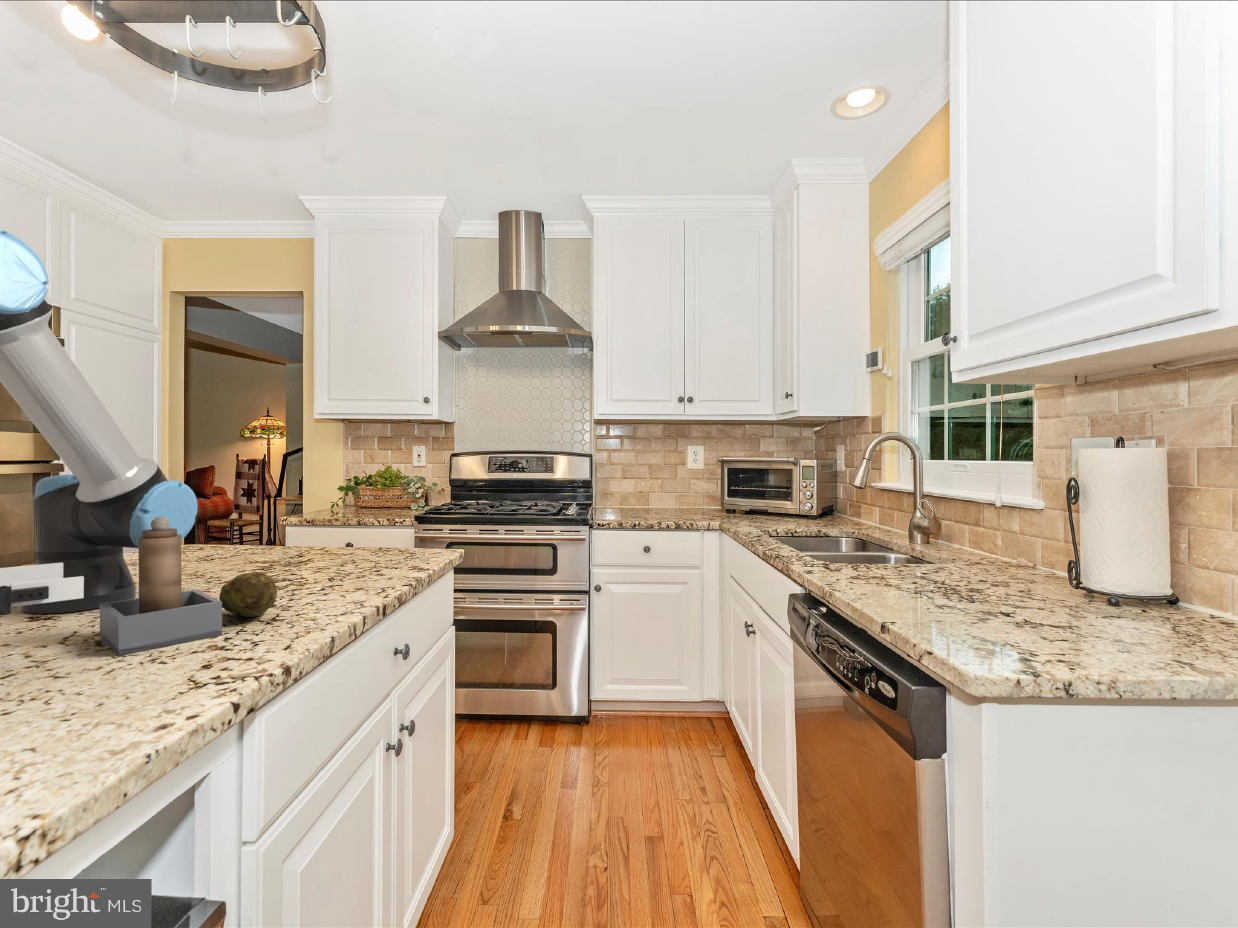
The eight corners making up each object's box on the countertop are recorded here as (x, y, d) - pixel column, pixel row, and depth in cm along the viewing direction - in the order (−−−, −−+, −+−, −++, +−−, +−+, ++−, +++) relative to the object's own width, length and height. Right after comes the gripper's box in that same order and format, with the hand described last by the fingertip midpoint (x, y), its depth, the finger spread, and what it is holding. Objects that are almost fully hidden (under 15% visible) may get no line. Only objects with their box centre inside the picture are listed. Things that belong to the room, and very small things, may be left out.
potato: (276, 606, 106) (276, 561, 105) (277, 624, 95) (277, 574, 94) (220, 612, 101) (219, 565, 101) (214, 632, 90) (214, 579, 90)
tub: (99, 637, 87) (99, 603, 87) (196, 620, 97) (196, 589, 96) (118, 655, 80) (118, 618, 80) (222, 634, 89) (221, 601, 89)
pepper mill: (135, 631, 88) (134, 517, 87) (176, 624, 91) (175, 514, 91) (144, 638, 84) (143, 519, 84) (186, 630, 88) (185, 517, 88)
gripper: (-185, 620, 72) (55, 592, 88) (-204, 669, 56) (92, 624, 73) (-184, 558, 72) (55, 541, 88) (-203, 590, 56) (93, 563, 73)
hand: (72, 579), depth 81 cm, fingers open, 13 cm apart
